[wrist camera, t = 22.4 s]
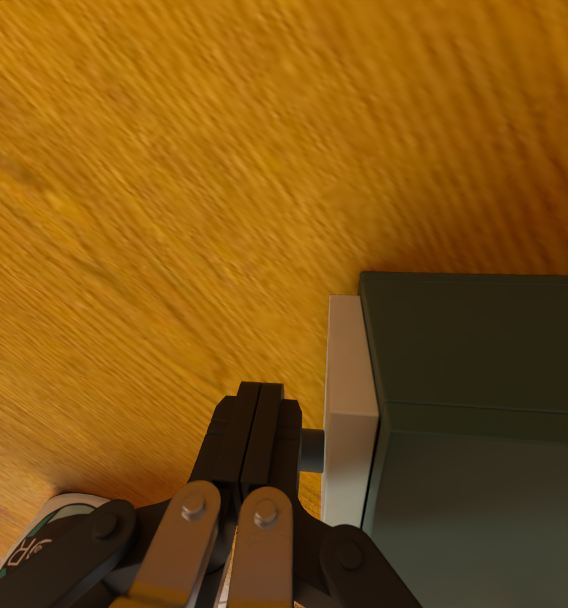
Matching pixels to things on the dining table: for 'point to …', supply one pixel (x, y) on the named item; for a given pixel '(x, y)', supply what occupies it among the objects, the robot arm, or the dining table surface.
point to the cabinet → (470, 436)
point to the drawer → (345, 417)
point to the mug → (49, 526)
